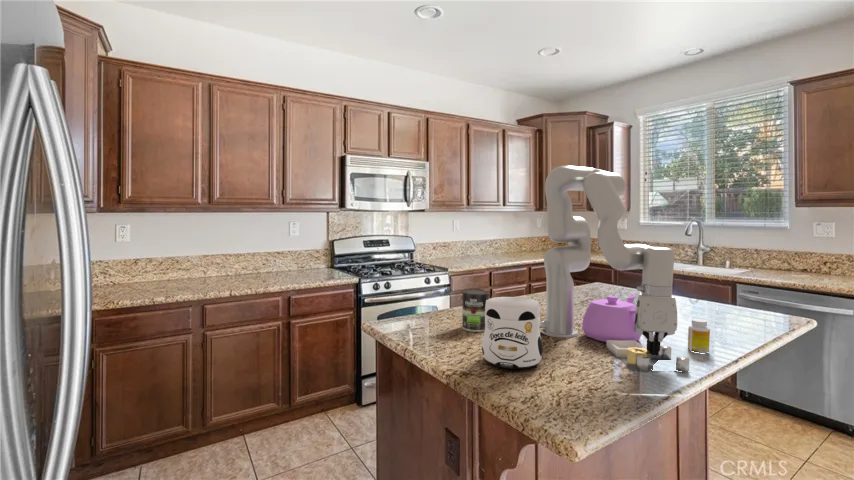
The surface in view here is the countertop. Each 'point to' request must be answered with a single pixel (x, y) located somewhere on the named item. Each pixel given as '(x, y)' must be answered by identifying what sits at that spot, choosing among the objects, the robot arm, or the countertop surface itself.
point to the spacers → (664, 354)
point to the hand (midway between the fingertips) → (652, 353)
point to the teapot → (610, 319)
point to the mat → (633, 368)
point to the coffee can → (474, 309)
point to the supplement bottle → (698, 336)
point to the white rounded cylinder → (512, 333)
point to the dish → (622, 347)
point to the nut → (635, 352)
